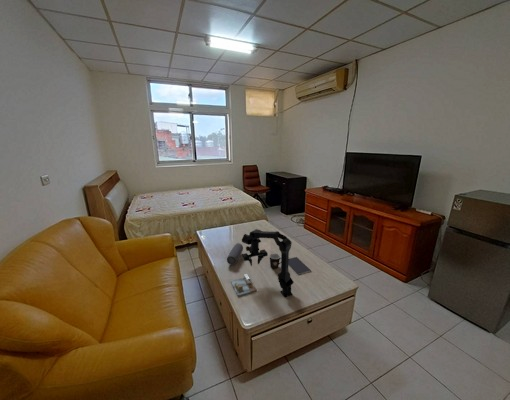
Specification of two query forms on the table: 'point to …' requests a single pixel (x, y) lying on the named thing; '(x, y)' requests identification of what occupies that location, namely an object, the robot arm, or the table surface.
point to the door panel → (242, 287)
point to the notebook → (298, 266)
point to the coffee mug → (274, 260)
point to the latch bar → (247, 279)
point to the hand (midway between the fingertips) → (254, 265)
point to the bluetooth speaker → (235, 254)
